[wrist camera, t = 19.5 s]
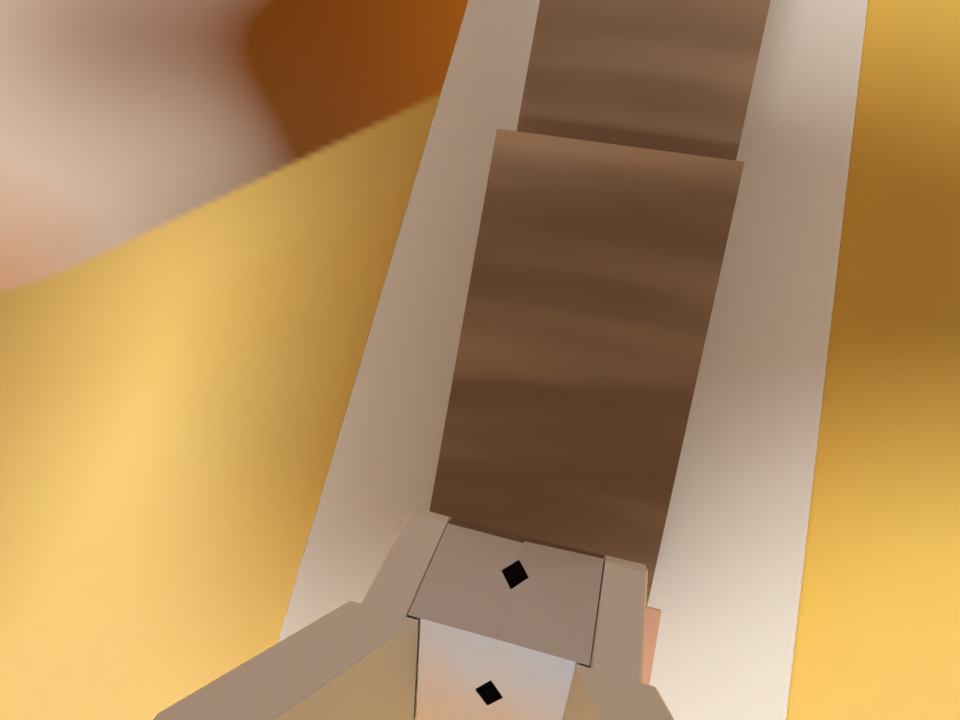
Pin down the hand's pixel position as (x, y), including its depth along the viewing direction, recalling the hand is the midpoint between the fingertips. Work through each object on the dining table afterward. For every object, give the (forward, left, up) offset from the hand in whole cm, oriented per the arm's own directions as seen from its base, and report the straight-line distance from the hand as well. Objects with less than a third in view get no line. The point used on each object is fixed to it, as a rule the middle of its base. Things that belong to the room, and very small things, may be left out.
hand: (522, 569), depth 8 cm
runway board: (0, +8, -9) cm, 12 cm away
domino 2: (0, -1, -7) cm, 7 cm away
